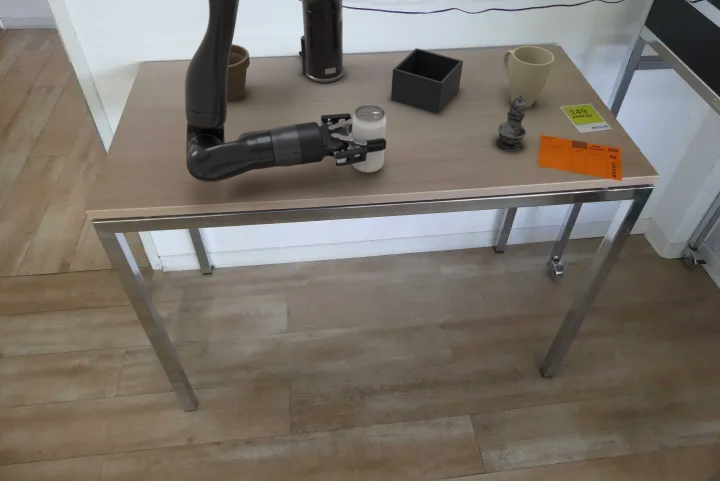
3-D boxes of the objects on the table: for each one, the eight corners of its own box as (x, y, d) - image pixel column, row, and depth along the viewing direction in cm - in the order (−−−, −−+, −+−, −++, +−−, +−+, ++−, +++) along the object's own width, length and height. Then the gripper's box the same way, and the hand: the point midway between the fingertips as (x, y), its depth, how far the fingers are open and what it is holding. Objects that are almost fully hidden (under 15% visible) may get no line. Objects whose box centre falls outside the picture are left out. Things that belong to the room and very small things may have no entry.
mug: (543, 95, 135) (556, 47, 127) (538, 116, 129) (552, 67, 120) (498, 86, 138) (507, 40, 129) (491, 107, 131) (501, 59, 123)
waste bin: (390, 99, 133) (392, 69, 127) (413, 77, 140) (416, 48, 135) (438, 114, 129) (442, 83, 123) (458, 90, 136) (463, 60, 131)
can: (380, 176, 111) (383, 124, 102) (348, 171, 112) (349, 119, 103) (385, 156, 115) (389, 105, 107) (355, 152, 116) (356, 101, 108)
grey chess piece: (491, 136, 123) (502, 87, 114) (518, 135, 123) (530, 86, 115) (498, 152, 118) (510, 102, 110) (526, 151, 119) (539, 101, 110)
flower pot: (195, 100, 131) (186, 60, 124) (221, 78, 138) (214, 39, 131) (238, 111, 128) (231, 71, 121) (262, 88, 136) (257, 48, 128)
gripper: (301, 150, 98) (392, 138, 101) (287, 107, 108) (370, 96, 111) (303, 184, 103) (390, 170, 107) (289, 139, 113) (369, 128, 116)
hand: (380, 133), depth 109 cm, fingers closed on can, 6 cm apart
